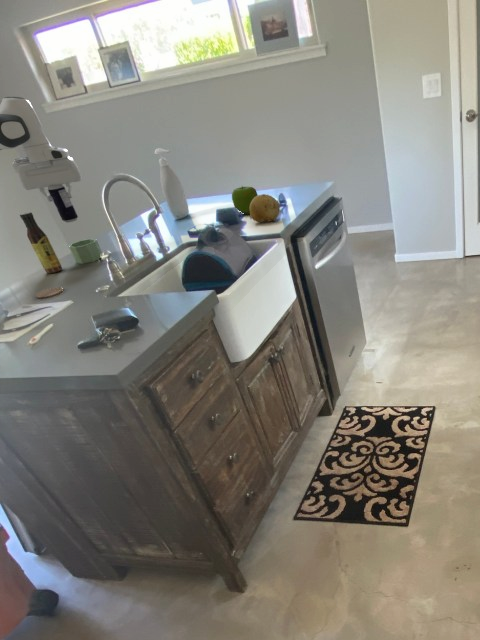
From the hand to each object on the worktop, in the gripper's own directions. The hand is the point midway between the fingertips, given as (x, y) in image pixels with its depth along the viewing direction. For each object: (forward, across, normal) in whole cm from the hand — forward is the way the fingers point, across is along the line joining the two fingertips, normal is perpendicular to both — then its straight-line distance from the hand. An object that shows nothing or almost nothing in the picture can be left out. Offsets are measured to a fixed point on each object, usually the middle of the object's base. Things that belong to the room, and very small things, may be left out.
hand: (61, 199), depth 191 cm
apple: (+20, +66, +26) cm, 74 cm away
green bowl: (+21, 0, 0) cm, 21 cm away
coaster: (+21, -8, -37) cm, 43 cm away
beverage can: (+7, 0, 0) cm, 7 cm away
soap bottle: (+21, +36, +46) cm, 62 cm away
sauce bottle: (+21, -12, -8) cm, 26 cm away
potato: (+20, +72, +3) cm, 75 cm away
